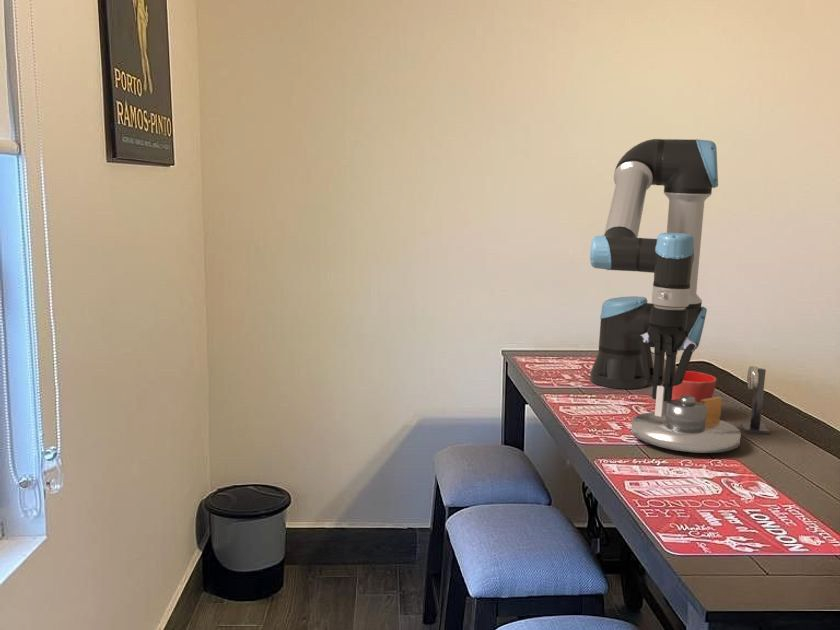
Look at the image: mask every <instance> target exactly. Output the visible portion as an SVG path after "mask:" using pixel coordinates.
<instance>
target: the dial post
mask: <svg viewBox="0 0 840 630" xmlns="http://www.w3.org/2000/svg"><path fill="white" fill-rule="evenodd" d="M766 373H767V372H766V368H762V367H761V368H758V367H757V366H755V365H754V366H749V368H748V370H747V376H746V377H747V379H746V380H747V381H746V382H747V383H746V384H747V388H748V389H749V390H753V392H752V393H753V395H752V405H751V413H750V414H751V416H750V422H749V423H748V422H747V423H745V422H740V428H741V429H742V430H743V432H744V433H745V434H756V435H768V436H769V435H770V430H769V429H768V428H767V426H766V425H765V424H761V420H762V411H763V402H764V401H763V400H764V391H765V380H766Z"/></svg>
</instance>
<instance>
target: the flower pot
mask: <svg viewBox="0 0 840 630" xmlns="http://www.w3.org/2000/svg"><path fill="white" fill-rule="evenodd" d="M676 371H677V370H675V374H676ZM716 386H717V377H715V376H714V375H710V374H709V373H704V372H699V371H692V370H686V373H685V376H684V379H683V382H682V383H681V384H679V385H677V386H673V390H672V399H671V400H675V399H680V396H692V397H694V398H695V401H697V402H700V400H702V399H707V398H712V397H713V396H714V393H715V389H716Z"/></svg>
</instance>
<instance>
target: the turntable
mask: <svg viewBox="0 0 840 630" xmlns="http://www.w3.org/2000/svg"><path fill="white" fill-rule="evenodd" d="M700 402H701V403H703V404H705V405H707V414H706V425H705V431H704V432H701V433H683V432H677V431H674V430H671V429H669V428H667V427H666V426H665V424H666V415H664V416H662V417H660V416H655V411H653V412H645V413H641V414H637V415H636V416H634V417H633V418H632V420H631V429H630V430H631V431H630V432H631V433H632V435H633V436H635V438H637V439H638V440H641V441H642V442H645V443H647V444H650V445H653V446H655V447H659V448H663V449H668V450H672V451H673V450H674V451H680V452H684V453H685V452H686V453H687V452H688V453H698V454H701V453H702V454H706V453H707V454H709V453H711V454H713V453H714V454H715V453H723V452H729V451H732V450H735V449H737V448H738V447H739V446H740V445H741V437H742V435H741V434H742V432H741V430H740V429H739V428H737V426H735V425H733V424H731V423H730V422H727V421H725V420H721V415H722V404H723V397H720V396H714V397H713V396H712V398H707V399H702V400H700Z"/></svg>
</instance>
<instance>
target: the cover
mask: <svg viewBox="0 0 840 630" xmlns="http://www.w3.org/2000/svg"><path fill="white" fill-rule="evenodd" d="M706 414H707V405H705V404H703V403H701V402H697V401H695V398H694V397H692V396H680V399H675V400H670V401H668V402H667V411H666V424H665V426H666V427H667V428H669V429H671V430H674V431H677V432H683V433H701V432H704V431H705V425H706Z"/></svg>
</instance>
